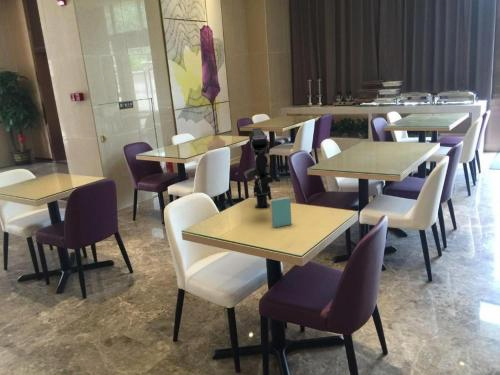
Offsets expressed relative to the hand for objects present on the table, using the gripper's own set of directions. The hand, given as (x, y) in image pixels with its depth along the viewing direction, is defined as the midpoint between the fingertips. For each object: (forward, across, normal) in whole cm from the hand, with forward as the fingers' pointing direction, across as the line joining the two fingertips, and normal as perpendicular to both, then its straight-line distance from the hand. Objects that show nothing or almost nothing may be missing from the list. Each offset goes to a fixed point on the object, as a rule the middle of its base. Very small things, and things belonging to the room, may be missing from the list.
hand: (262, 193), depth 213 cm
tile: (+12, +17, +4) cm, 21 cm away
